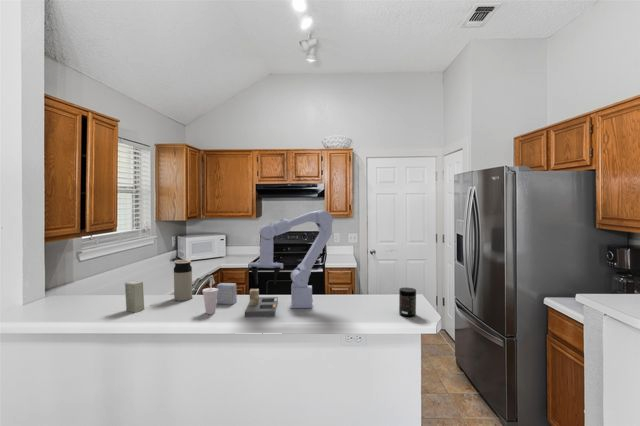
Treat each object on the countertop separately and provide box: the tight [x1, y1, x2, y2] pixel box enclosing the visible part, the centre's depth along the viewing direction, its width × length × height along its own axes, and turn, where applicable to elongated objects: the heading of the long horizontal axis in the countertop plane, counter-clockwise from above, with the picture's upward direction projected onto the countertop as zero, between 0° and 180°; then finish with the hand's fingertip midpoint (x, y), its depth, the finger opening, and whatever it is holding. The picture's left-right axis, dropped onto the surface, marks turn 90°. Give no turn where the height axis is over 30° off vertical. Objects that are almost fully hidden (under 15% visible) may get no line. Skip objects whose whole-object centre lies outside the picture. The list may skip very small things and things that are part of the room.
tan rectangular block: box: [249, 288, 260, 305], centre depth 150 cm, size 4×4×6 cm
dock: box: [244, 296, 279, 317], centre depth 150 cm, size 12×20×2 cm, turn 3°
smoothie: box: [202, 278, 218, 315], centre depth 144 cm, size 6×6×14 cm
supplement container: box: [398, 287, 417, 318], centre depth 141 cm, size 7×7×10 cm
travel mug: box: [173, 259, 193, 302], centre depth 164 cm, size 8×8×18 cm
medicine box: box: [216, 282, 238, 305], centre depth 158 cm, size 8×4×9 cm, turn 84°
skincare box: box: [124, 280, 145, 313], centre depth 147 cm, size 6×4×12 cm
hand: (265, 284), depth 149 cm, fingers open, 7 cm apart
